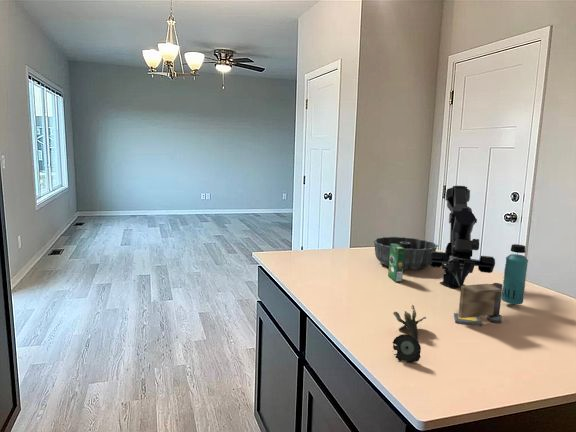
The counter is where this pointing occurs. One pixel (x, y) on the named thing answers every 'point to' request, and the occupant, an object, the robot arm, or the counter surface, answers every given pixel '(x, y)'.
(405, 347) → the artificial flower
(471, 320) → the label plaque
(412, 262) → the bundt pan
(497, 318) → the pivot foot
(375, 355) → the counter surface
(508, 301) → the beverage bottle
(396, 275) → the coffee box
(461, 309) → the brown wooden block
